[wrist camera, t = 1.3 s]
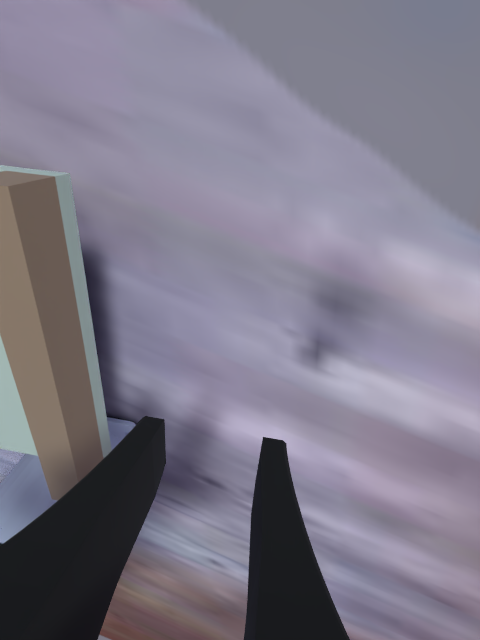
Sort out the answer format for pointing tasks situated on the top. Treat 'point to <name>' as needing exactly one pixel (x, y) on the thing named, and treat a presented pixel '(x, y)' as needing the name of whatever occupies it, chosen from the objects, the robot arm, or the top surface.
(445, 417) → the top surface
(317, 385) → the top surface
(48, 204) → the lid
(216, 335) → the top surface
